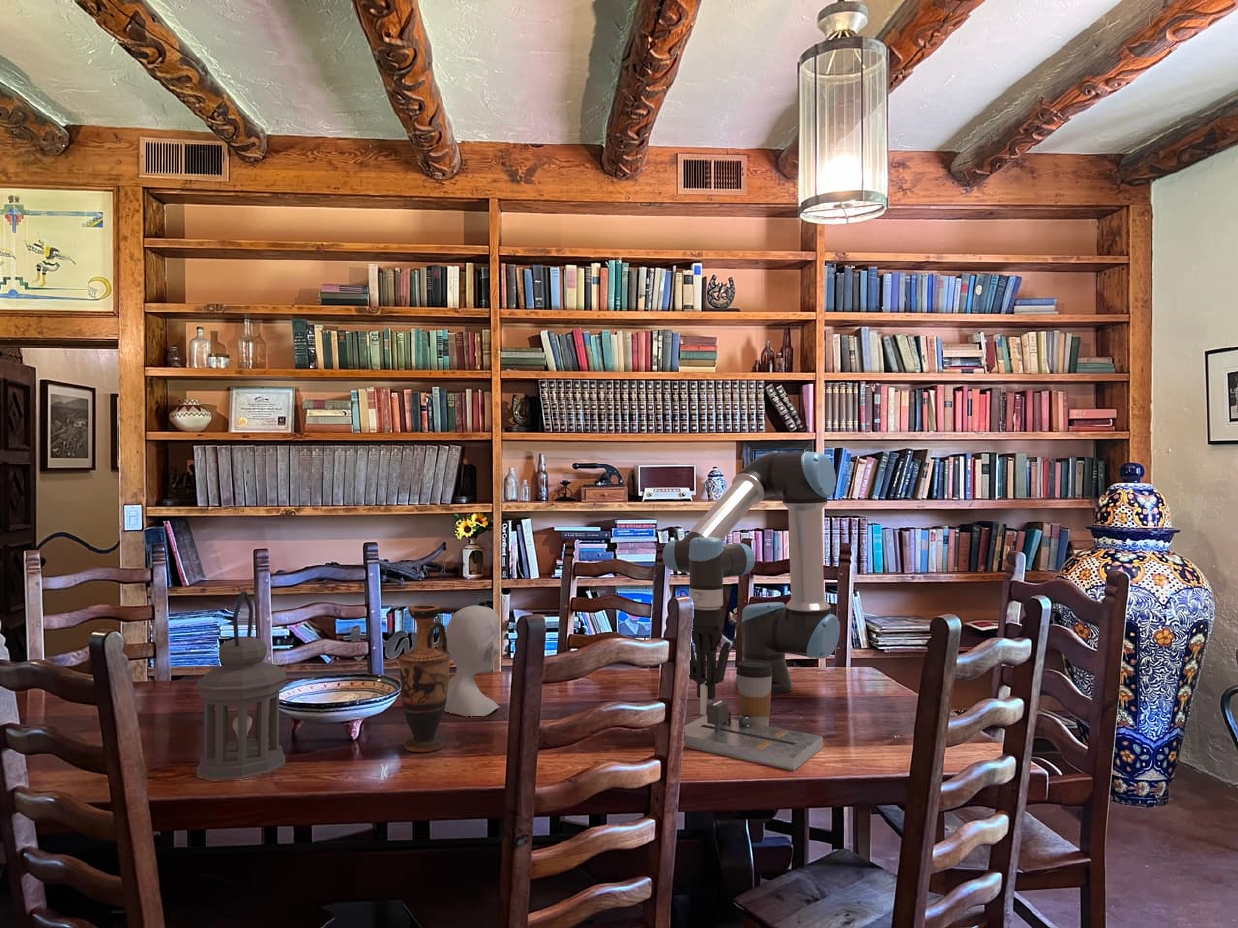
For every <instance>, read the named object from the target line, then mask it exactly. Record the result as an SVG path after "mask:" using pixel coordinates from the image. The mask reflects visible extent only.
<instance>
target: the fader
mask: <svg viewBox="0 0 1238 928" xmlns="http://www.w3.org/2000/svg"><path fill="white" fill-rule="evenodd" d="M728 710H729V703H728V702H727V701H723V700H714V701H712V703H710V704H708V705H707V723H708V724H714V729H715V730H720V731H721V724H722V723H724V722H726V721H728V712H729V711H728Z"/></svg>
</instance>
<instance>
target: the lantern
mask: <svg viewBox="0 0 1238 928" xmlns="http://www.w3.org/2000/svg"><path fill="white" fill-rule="evenodd" d="M243 600H244V601H245V602H246V606H247V608H248V618H247V619H248V622H247V633H246V634H247V635H246V636H245V637H240V636H239V621H238V618H239V613H240V611H241V610H240V609H241V607H242V603H243ZM253 617H254V606H253V604H252V601H251V599H250V597H249V595H248V592H247V591H245V590H243V591H241V592H240V593H239V596H238V600H237V603H236V605H235V608H234V611H233V615H232V624H233V625H232V626H233V627H232V628H233V638H234V639H230V640H228V641H225V642H223V643H222V644H221V646H220V647H219V649H218V659H219V661H220V662H221V663H222V664H223V665H220V666H218V667H214V668H212V669H211V670H209V671H207V672H205V673H204V675H203V677H202V678H198V679H197V682H196V683H197V684H196V688H197V689H199V697H200V698H202V699H204V719H203V720H204V726H203V727H204V729H203V731H204V734H203V735H204V738H203V740H204V741H203V742H204V743H203V745H204V746H203V754H202V755H200V759H199V764H198V766H197V767H196V768H197V769H196V775H197V776H201V777H204V778H208V779H211V780H234V779H235V780H236V779H245V778H250V777H254V776H258V775H262V774H266V773H270V772H272V771H274V770H275V769H277V768H279V767H280V768H282V767H283V766H285V765H286V764H287V763H286V755H285V753H284V752H283V745H281V744H280V691H281V690H283V689H285V680H287V679H288V677H287V672H286V671H285V670H281V668H280V666H278V665H276V664H274V663H271V662H264V661H263V660H265V658H266V656H267V654H268V650H267V649H268V645H267V643H266V642H265V641H264V640H263V639H261V638H255V637H252V632H253V631H252V630H253V621H254V620H253ZM250 704H256V709H257V710H256V738H249V739H248V736H249V735H248V733H249V731H250V729H252V728H251V727H252V724H253V719H252V717H251V716H250V715H248V705H250ZM230 706H238V707H237V711H238V712H237V716H235V718H234V719H233V721H232V728H233V730H234V732H235V734H236V738H237V740H234V741H230V742H229V741H228V712H229V711H228V709H229V708H228V707H230ZM280 768H279V769H280ZM277 770H278V769H277ZM275 771H276V770H275ZM275 771H274V772H275ZM272 773H273V772H272ZM270 774H271V773H270ZM262 776H263V775H262ZM258 777H259V776H258ZM254 778H255V777H254ZM250 779H251V778H250Z"/></svg>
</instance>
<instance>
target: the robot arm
mask: <svg viewBox="0 0 1238 928" xmlns="http://www.w3.org/2000/svg"><path fill="white" fill-rule="evenodd" d="M836 477H837V476H836V470H835V467H834V465H833V463H832V461H831V460H830V458H829V457H828V456H827V455H826V454H825V453H822V452H816V451H803V452H802V451H799V452H798V451H797V452H771V453H767V454H765V455H762V456H760V457H757V458H756V459H754V460H752V461H751V462H750V463H748V464H747V465H746V466H744V468H742V469H741V470H740V471H739V472H738V473H737V474H736V475H735V476H734V477H733V478H732V481H731V486H730V487H729V488H728V489H727V490H726V491H725V492H724V494H722V496H721V497H720V498H719V499H718V500H717V501H716V502H715V503H714V504H713V506H712V507H710V509H709V510H708V511H707V512H706V513H705V514H704V516H702V517H701V519H700V520H699V521H698V522H697V523H696V524H695V525H694V526H693V527H692V528H691V530H690V531H689V532H688V533H687V534H686V535H685V536H684V537H683V538H682V539H681V540H679V539H675V540H669V541H668V542H667V543H665V545H664V547H663V550H662V561H663V564H664V566H665V568H667V569H668V570H670V571H675V572H680V573H689V586H688V587H689V590H688V591H689V592H688V594H689V595H688V596H689V597H691V598H692V599H693V603H694V619H693V631H692V643H691V660H690V675H688V677H689V680H691V681H692V680H693V681H694V682H696V696H697V698H698V699H699V701H700V705H699V707H700V709H699V711H700V712H699V713H700V715H703V716H705V715H707V705H708V704H710V703H712V702H713V700H715V698H716V685H717V684H719V683H722V682H723V681H724V680H725V674H726V669H727V667H728V666H727V665H728V661H729V656H730V652H731V650H732V648H733V646H734V645H735V641H734V640H731V639H728V637H726V636H725V631H724V629H723V626H724V625H723V624H724V609H723V608H722V606H724V586H723V585H724V578H731V577H741V576H743V575H746V574H748V573H750V572H751V571H752V570H753V568H754V566H755V562H756V557H755V552H754V551H753V549H752V548H751V547H750V546H749V545H748V544H745V543H743V542H742V543H739V542H733V543H724V541H723V540H724V539H725V538H726V536H727V535H728V534H729V533H730V532H731V531H732V529H733V528H735V526H736V525H737V524H738V523H739V521H741V519H743V517H744V516H745V515H746V513H748V511H749V510H750V509H751V508H752V506H754V505H757V504H760V503H761V502H762V501H763V500H764V499H766V498H768V497H774V496H777V497H778V496H779V497H782V498H781V499H782V500H781V501H782V502H781V503H782V505H783V506H784V507H785V508H786V509H787V510H788V538H789V539H788V541H789V577H790V578H789V579H790V599H789V601H788V602H787V603H786V604H785V603H784V602H780V601H779V602H777V601H776V602H775V601H773V602H771V601H770V602H762V603H761V602H760V603H754V604H748V605H746V606H744V607H743V609H742V616H741V625H742V627H741V628H742V629H741V631H742V632H741V633H742V634H741V636H742V638H741V642H742V643H741V644H742V648H741V649H742V655H741V656H742V657H741V661H744V660H760V661H765V662H768V663H770V666H771V668H772V673H773V675H772V680H771V695H777V694H783V693H788V692H790V691H791V690H792V686H793V684H792V678H791V674H790V672H789V668H788V665H787V661H786V654H788V655H794V656H800V657H806V658H808V659H827V658H828V657H829V656H830V655H832V654H833V653H834V651H835V649H836V647H837V645H838V642H839V639H840V633H841V624H840V621H839V618H838V616H837V615H834V614H833V613H832V614H831V605H830V604H829V603H828V602H827V601H826V599H825V582H824V580H825V579H824V578H825V577H824V547H823V546H824V545H823V543H824V542H823V541H824V540H823V511H822V510H823V508H824V507H825V506H826V505H827V504H828V498H830V497H831V496H832V495H833V494H834V493H835V488H836V486H837V485H836V484H837V478H836ZM719 645H720V651H719V654H718V659H717V653H718V646H719ZM735 687H736V688H737V689H738V680H737V676H736V677H735Z"/></svg>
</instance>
